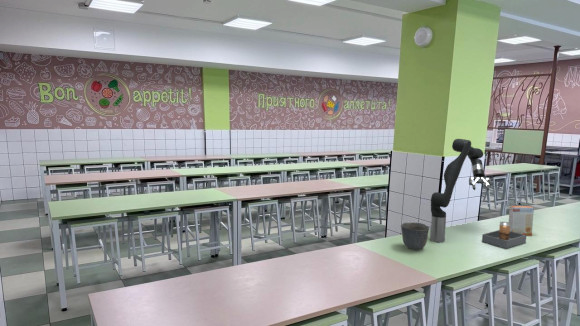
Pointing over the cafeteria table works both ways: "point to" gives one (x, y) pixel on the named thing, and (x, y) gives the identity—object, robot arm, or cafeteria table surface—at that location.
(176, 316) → the cafeteria table surface
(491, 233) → the gray tray
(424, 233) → the dark grey plant pot
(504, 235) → the tin can
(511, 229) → the cracker box
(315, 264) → the cafeteria table surface
